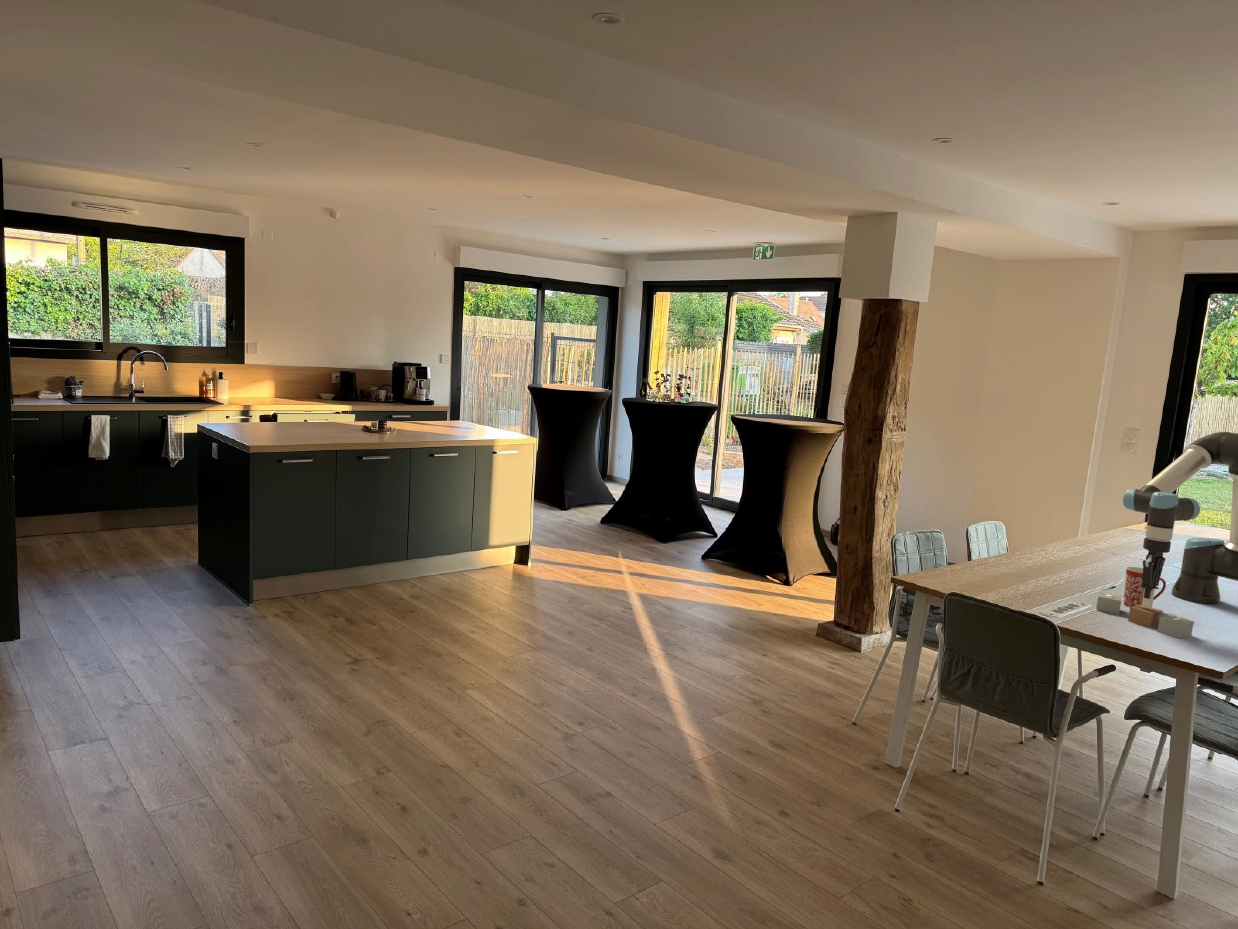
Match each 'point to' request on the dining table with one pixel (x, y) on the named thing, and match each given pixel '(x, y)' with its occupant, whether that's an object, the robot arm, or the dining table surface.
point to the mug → (1136, 587)
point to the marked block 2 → (1175, 626)
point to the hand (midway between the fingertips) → (1146, 607)
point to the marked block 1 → (1109, 603)
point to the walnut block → (1145, 616)
